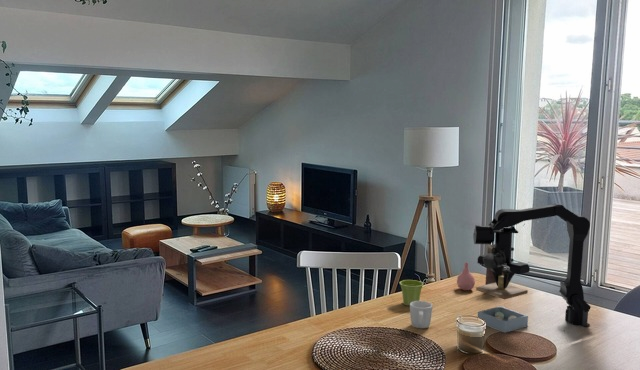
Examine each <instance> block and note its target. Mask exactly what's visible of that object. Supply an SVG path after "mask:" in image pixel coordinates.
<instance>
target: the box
mask: <svg viewBox="0 0 640 370" xmlns="http://www.w3.org/2000/svg"><path fill="white" fill-rule="evenodd" d="M496 312H502V313H503V314H504V319H503V320H501V319H498V318H496V317H495V313H496ZM510 316H515V317H517V318H514V319H510V320H508V318H509V317H510ZM478 317H479V318H481V319H483V320H485V322H486V325H485V326H487V327H490V328H492V329H494V330H497V331H500V332H502V333H509V332H511V331H516V330H519V329H522V328H525V327H528V321H529V315H527V314H524V313H521V312H518V311H516V310H514V309H513V310H512V309H510V308H508V307H504V306H502V305H499V306H495V307H491V308H487V309H484V310H479V311H477V318H478Z"/></svg>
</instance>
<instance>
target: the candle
mask: <svg viewBox="0 0 640 370" xmlns="http://www.w3.org/2000/svg"><path fill="white" fill-rule="evenodd" d="M493 247H495V243H492V244H488V246H487V252H486V254H489V253H491V252H492V248H493ZM503 270H505V267H503ZM485 272H486V273H485V284H484V285H487V284H491V283H496V281H495V278H494V275H493V272H492V271H491V270H490V269H489V268H487V267H486V271H485ZM502 276H504V274H503V272H502Z"/></svg>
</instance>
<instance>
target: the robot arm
mask: <svg viewBox="0 0 640 370" xmlns="http://www.w3.org/2000/svg"><path fill="white" fill-rule="evenodd" d="M551 217H558V218H560V219H561V220H562V221H564V222H566V230H567V233H568V238H569V246H568V256H567V271H566V277H565V278H566V279H565V280H564V281H559V282H560V285H559V286H560V288H559V291H558V292H559V293H560V295H561V297H562V299H563V300H564V301H566V305H567V306H566V309H565V316H564V319H565V320H564V321H566V322H567V323H569V324H571V325H574V326H580V327H583V328H586V327H589V326H591V324H590V323H588V321H589V320H588V318H589V312H590V310H591V308H592V306H591V305H590V304H588V303H587V301H586V300H585V295H584V289H583V285H582V280H581V279H582V277H581V276H582V267H583V266H582V265H583V253H584V243H585V241H586V238H587V236H588V235H589V231H590V227H591V222H590V220H589V219H588V218H586V217H585V216H583V215H580V214H578V213H574V212H572V211H571V210H569V209H567V208H566V207H565V206H564V205H563V204H560V203H557V202H556V203H553V204H547V205H541V206H536V207H535V206H534V207H529V208H524V209H512V208H504V209H503V208H501V209H498V210H497V211H496V212H495V214H494V218H493V219H492V220H491V221H490V223H489V224H488V225H481V224H477V225H476V224H475V225H474V230H473V232H472V233H473V234H472V237H473V238H472V239H473V244H474V245H492V244H495V247H493V248H492V252H491V253H489V254H487V253H486V254H481V255H478V257H477V262H476V263H477V264H479V265H484V267H486V269H487V268H489V269H490V270H491V271H492V272H493V275H494V278H495V281H496V284H497V286H498V276H502V272H503V274H504V288H507V286H508V285H510V283H511V281H512V279H513V277H514V275H515V274H517V275H523V274H526V273H530V268H531V267H530V265H529V264H528V263H525V262H520V261H518V262H514V261H515V260H514V258H512V252H513V251H515V248H514V247H513V234H518V233H519V231H518V230H517V228H515V226H516V225H518V224H521V223H523V222H526V221H533V220H538V219H544V218H551ZM513 262H514V263H513ZM503 267H504V268H505V269H504V270H503Z"/></svg>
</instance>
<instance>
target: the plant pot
mask: <svg viewBox="0 0 640 370" xmlns="http://www.w3.org/2000/svg"><path fill="white" fill-rule="evenodd" d="M399 285H400V288H401V294H402V302H403V305H405V306H407V307H408V306H410V303H411V302H414V301H421V300H420V298H421V294H422V289H423V286H424V282H423V281H419V280H415V279H414V280H413V279H403V280H401V281H399Z"/></svg>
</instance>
